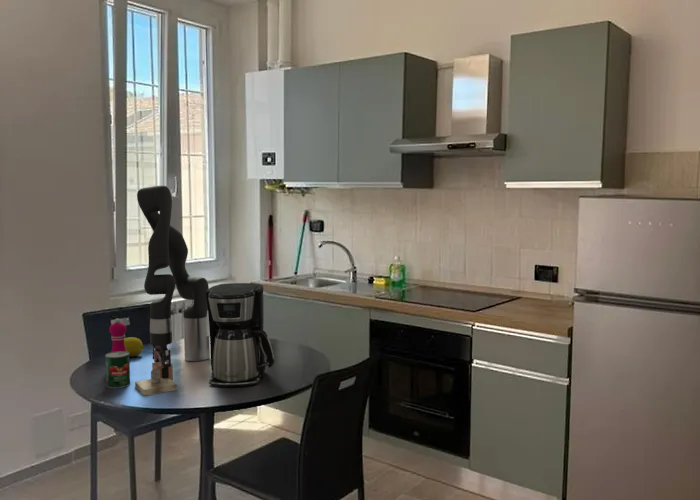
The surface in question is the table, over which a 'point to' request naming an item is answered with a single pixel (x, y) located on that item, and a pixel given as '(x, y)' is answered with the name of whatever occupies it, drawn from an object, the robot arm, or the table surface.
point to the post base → (155, 384)
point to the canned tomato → (117, 369)
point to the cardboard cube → (158, 366)
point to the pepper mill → (118, 336)
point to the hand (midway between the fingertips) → (161, 375)
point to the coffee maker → (237, 334)
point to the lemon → (133, 346)
